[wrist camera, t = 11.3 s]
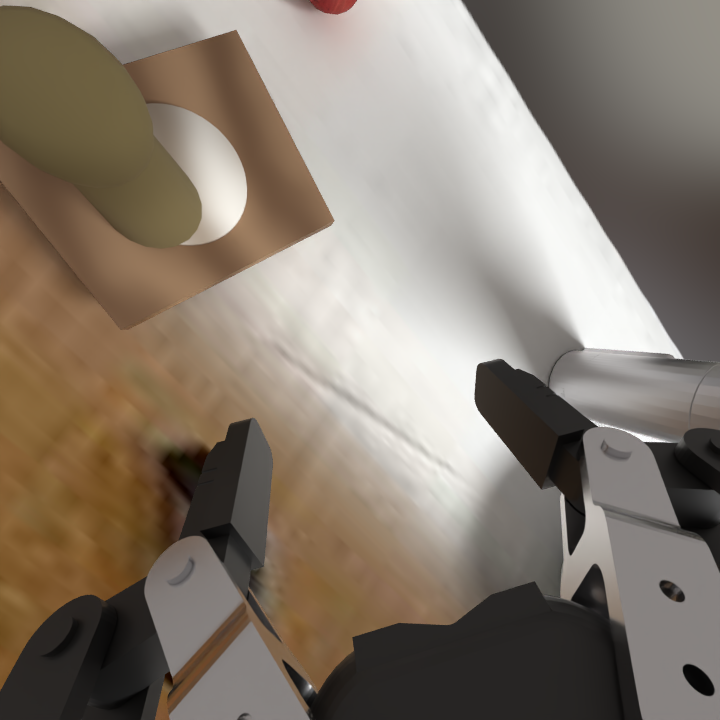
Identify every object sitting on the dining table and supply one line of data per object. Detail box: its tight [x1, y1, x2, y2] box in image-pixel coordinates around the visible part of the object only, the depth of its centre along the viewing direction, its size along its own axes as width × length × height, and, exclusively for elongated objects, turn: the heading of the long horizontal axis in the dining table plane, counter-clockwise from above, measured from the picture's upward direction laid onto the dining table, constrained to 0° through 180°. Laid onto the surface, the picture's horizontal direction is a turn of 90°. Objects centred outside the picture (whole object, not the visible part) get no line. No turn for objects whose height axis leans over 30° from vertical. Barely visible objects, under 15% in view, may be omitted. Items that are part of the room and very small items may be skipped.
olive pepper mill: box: [0, 6, 202, 249], centre depth 15 cm, size 6×6×11 cm
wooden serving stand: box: [0, 30, 334, 330], centre depth 22 cm, size 18×14×5 cm
